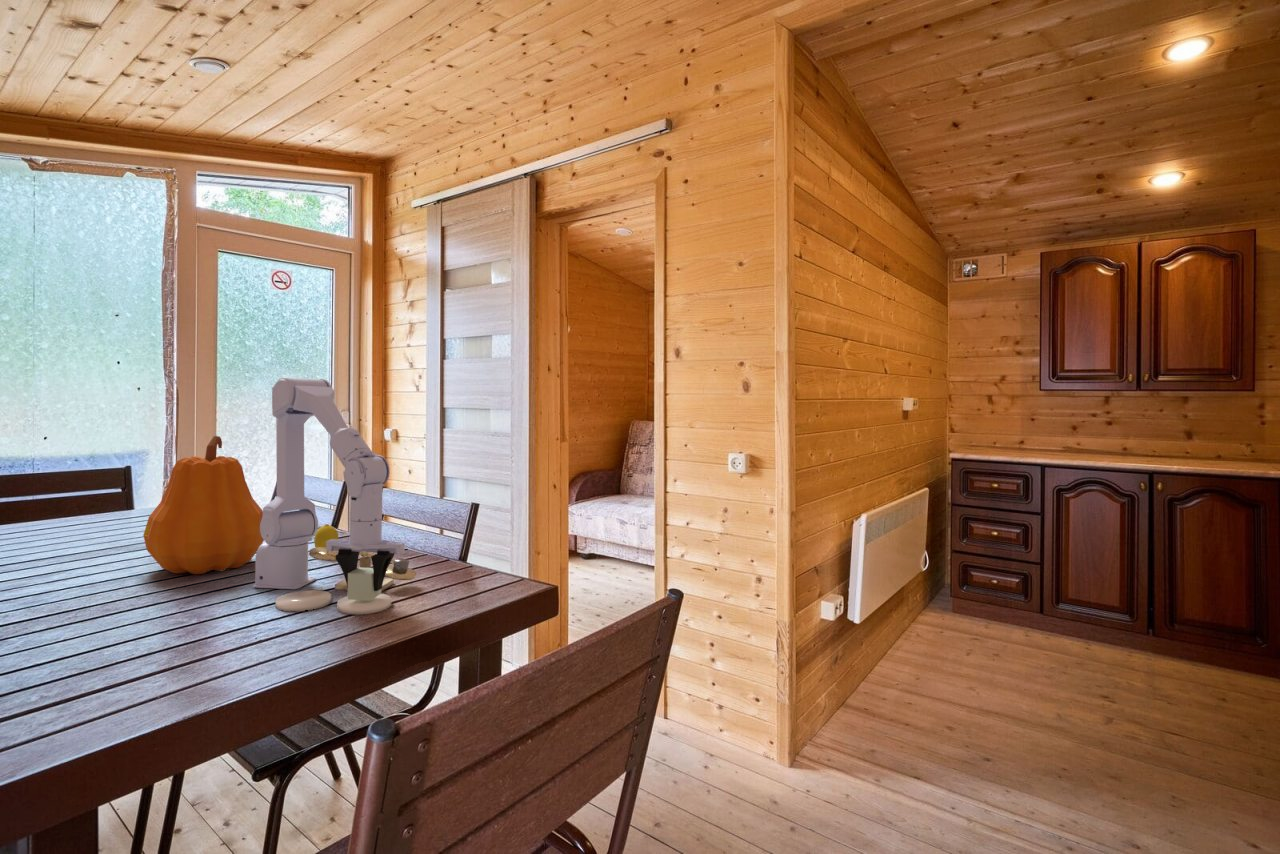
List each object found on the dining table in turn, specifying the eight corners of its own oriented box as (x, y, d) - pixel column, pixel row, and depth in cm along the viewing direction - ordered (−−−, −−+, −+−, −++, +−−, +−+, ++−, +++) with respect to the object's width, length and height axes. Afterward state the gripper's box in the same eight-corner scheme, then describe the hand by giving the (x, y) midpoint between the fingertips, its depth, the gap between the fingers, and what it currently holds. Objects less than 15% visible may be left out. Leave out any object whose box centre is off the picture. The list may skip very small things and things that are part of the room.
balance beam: (302, 555, 138) (305, 541, 138) (319, 547, 145) (322, 534, 145) (408, 582, 137) (411, 568, 137) (420, 573, 144) (423, 560, 144)
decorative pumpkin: (168, 556, 160) (168, 432, 159) (277, 553, 166) (278, 434, 165) (122, 583, 137) (122, 439, 136) (250, 578, 144) (251, 441, 143)
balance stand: (334, 589, 138) (335, 559, 138) (348, 581, 144) (349, 553, 144) (381, 591, 138) (382, 561, 138) (393, 583, 144) (394, 555, 144)
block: (347, 599, 126) (347, 573, 125) (358, 592, 130) (359, 567, 130) (370, 600, 126) (371, 574, 125) (381, 593, 130) (381, 568, 130)
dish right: (327, 613, 123) (327, 606, 123) (352, 597, 133) (352, 592, 133) (378, 615, 123) (378, 609, 123) (399, 600, 133) (399, 594, 133)
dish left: (264, 610, 124) (264, 603, 124) (293, 595, 133) (293, 589, 133) (314, 612, 123) (315, 606, 123) (340, 597, 133) (340, 591, 133)
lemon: (328, 559, 163) (329, 526, 162) (309, 557, 164) (309, 525, 164) (343, 554, 168) (343, 522, 168) (323, 552, 169) (324, 521, 169)
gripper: (318, 521, 124) (317, 593, 124) (394, 524, 123) (393, 596, 124) (336, 514, 131) (335, 582, 131) (409, 517, 130) (407, 586, 131)
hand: (364, 589), depth 128 cm, fingers closed on block, 4 cm apart
